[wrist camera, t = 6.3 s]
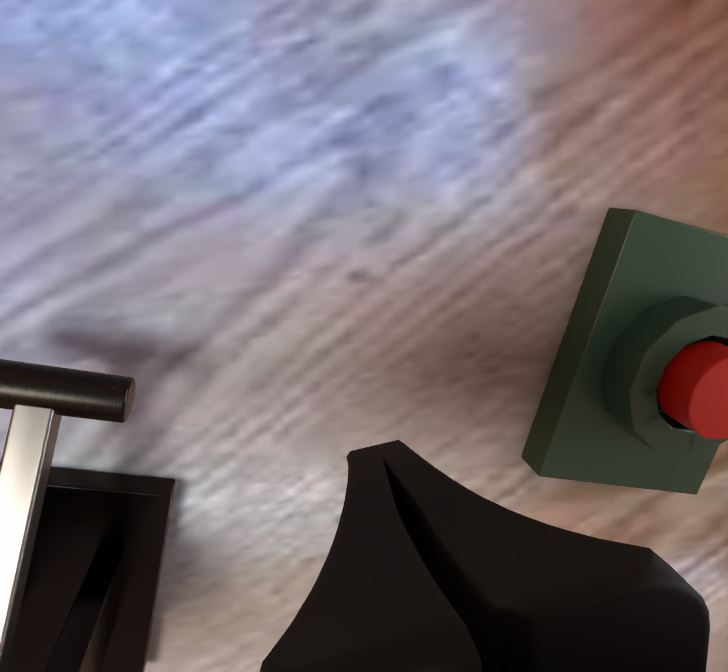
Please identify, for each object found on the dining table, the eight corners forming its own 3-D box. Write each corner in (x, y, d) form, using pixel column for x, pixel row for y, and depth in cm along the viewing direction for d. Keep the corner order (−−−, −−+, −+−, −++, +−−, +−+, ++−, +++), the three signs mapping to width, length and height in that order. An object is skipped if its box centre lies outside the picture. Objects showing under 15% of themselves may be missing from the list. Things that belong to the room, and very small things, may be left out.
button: (711, 425, 22) (747, 445, 21) (643, 414, 21) (675, 434, 20) (746, 347, 21) (786, 362, 20) (677, 333, 20) (713, 347, 19)
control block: (671, 476, 27) (728, 518, 24) (520, 457, 25) (560, 500, 21) (770, 251, 24) (851, 264, 21) (608, 207, 22) (670, 213, 18)
